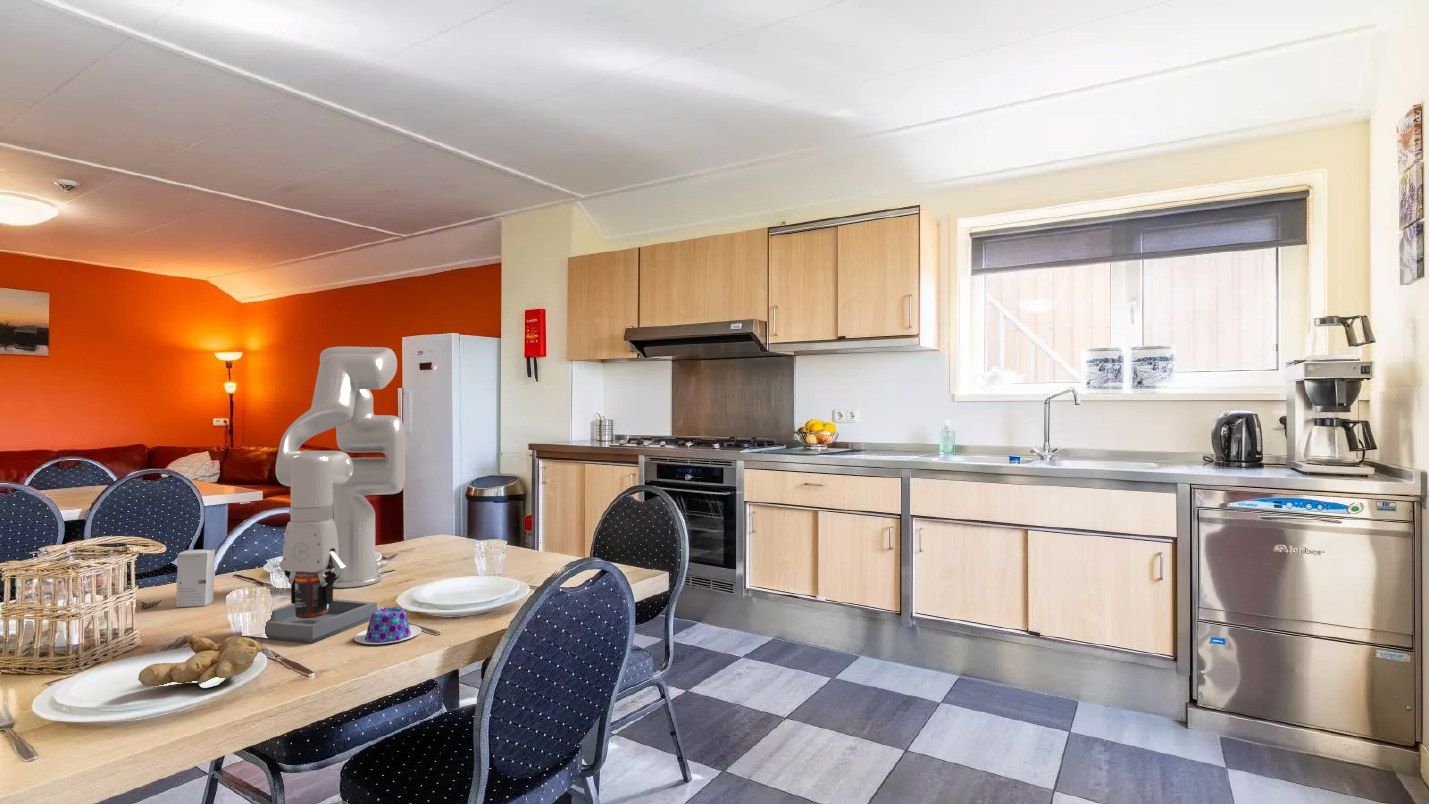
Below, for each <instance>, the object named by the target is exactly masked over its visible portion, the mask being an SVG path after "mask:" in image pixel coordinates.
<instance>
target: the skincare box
mask: <svg viewBox="0 0 1429 804" xmlns="http://www.w3.org/2000/svg"><path fill="white" fill-rule="evenodd" d="M215 556H216V550H215V549H186V550H184V551H181V552H179V553H177V568H176V569H177V570H176V571H177V572H176V597H175V598H176V601H175V607H176V608H185V607H187V608H189V607H204V606H207V605H209V604H212V602H214V591H215V588H214V587H215V566H216V564H215V561H216V557H215Z"/></svg>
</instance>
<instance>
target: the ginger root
mask: <svg viewBox="0 0 1429 804" xmlns="http://www.w3.org/2000/svg"><path fill="white" fill-rule="evenodd" d="M186 642H187V644H189V645H190V646H189V647H190V648H191V651H192V652H193V653H194V654H193V655H191V656H190V657H189V658H187V660H186V661H182V662H162V663H161V662H159V663H152V664H149V665H147V666H146V667H145V668H143V669H141V671H140V672H139V673H138V679H137V680H138V681H139V683H141V684H142V686H145V687H151V686H159V685H164V684H167V683H171V682H177V683H186V682H192V681H198V684H201V683H203V682H206V681H208V680H210V679H212V678H215V677H219V678H227V679H230V678H232V677H234V675H235V676H238V675H241V674H243V673H244V672H246V671H247V670H248V669H250V667H251V666H252V665H253V663H254V662H255V659H256V658H257V656H258V653H260V652H262V651H264V650H265V649H266V648H267V645H266V644H265V643H262V644H261V643H260V642H259V641H257V640H255V639H252V638H251V637H243V636H230V637H228V638H226V639H224V640H223V642H221V644H217V643H214V641H212V640H211V639H210V638H207V637H199V636H194V635H190V636H189V637H187V638H186ZM255 657H256V658H255ZM198 684H197V685H198ZM151 688H152V687H151Z"/></svg>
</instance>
